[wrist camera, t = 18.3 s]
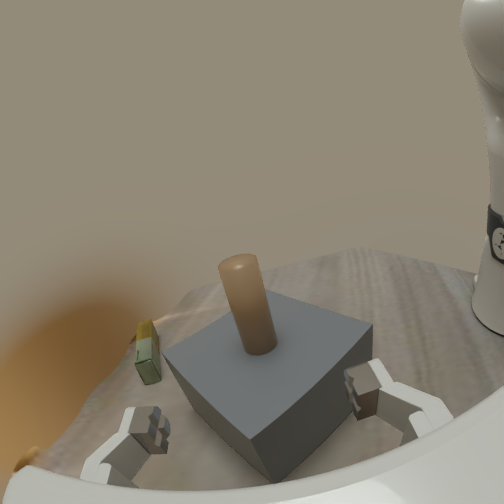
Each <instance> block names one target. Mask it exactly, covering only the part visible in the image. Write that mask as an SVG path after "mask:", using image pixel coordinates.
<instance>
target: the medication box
mask: <svg viewBox="0 0 504 504" xmlns="http://www.w3.org/2000/svg"><path fill="white" fill-rule="evenodd" d="M135 367H136V369H137V371H138V373H139V375H140V377H141V378H142V380H143V382H144V383H145V385H149V384H154V383H156V382H159V381H161V373H160V358H159V340H158V334H157V332H156V329H155V327H154V324H153V322H152V320H148V321H143V322H141V323H138V327H137V338H136V351H135Z"/></svg>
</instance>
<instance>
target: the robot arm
mask: <svg viewBox="0 0 504 504" xmlns="http://www.w3.org/2000/svg"><path fill="white" fill-rule="evenodd" d="M460 32H461V37H462V40H463V43H464V45H465V48H466V50H467V54H468V57H469V59H470V62H471V65H472V68H473V71H474V74H475V78H476V82H477V86H478V91H479V95H480V100H481V105H482V110H483V116H484V122H485V130H486V138H487V147H488V157H489V170H490V192H491V203H490V204H489V206H488V214H487V234H488V236H487V237H486V238H485V240H484V246H483V252H482V258H481V263H480V268H479V273H478V274H477V275H475V277H474V281H473V285H474V288H475V291H474V294H473V297H472V308H473V311H474V313H475V315H476V316H477V318H478V319H479V320H480V321H481V322H482V323H483V324H484V325H485V326H487V327H488V328H490V329H491V330H493V331H495V332H497V333H499V334H502V335H504V0H465V1H464V4H463V7H462V11H461V17H460ZM344 376H345V378H346V381H345V390H346V394H347V397H348V400H349V402H350V403H352V410H353V412H354V414H355V417H356V419H357V421H358V420H361V419H364V418H367V417H370V416H373V415H376V416H378V417H380V418H381V419H383V420H384V421H386V422H387V423H389V424H391V425H392V426H394V427H396V428H397V429H399V430H400V431H402V432H404V435H403V438H402V440H401V443H400V447H398V448H395V449H393V450H390V451H388V452H386V453H383V454H381V455H378V456H375V457H373V458H370V459H367V460H364V461H362V462H359V463H356V464H353V465H350V466H346V467H343V468H340V469H337V470H333V471H329V472H326V473H322V474H318V475H314V476H310V477H306V478H301V479H297V480H292V481H287V482H281V483H276V484H269V485H263V486H255V487H247V488H238V489H226V490H208V491H167V490H150V489H139V487H138V486H137V485H135V484H134V483H133V482H131V480H132V479H133V478H134V476H135V475H136V474H137V472H138V471H139V470H140V469H141V467H142V466H143V465H144V463H145V462H146V461H147V460H148V458H149V457H150V456H151V455H150V454H167V449H168V441H167V440H166V439H167V438H168V436H169V435H170V424H169V421H168V419H167V418H166V417H165V416H163V415H161V410H160V409H159V407H158V406H150V407H128V408H127V409H126V410H125V413H124V416H123V419H122V422H121V425H120V428H119V432H118V433H115V434H114V435H113V436H112V437H111V438H110V439H108V440H107V441H106V442H105V443H104V444H103V445H102V446H101V447H100V448H98V449H97V450H96V451H95V452H94V453H93V454H92V455H91V456H89V457H88V458H87V459H86V461H85V464H84V467H83V470H82V473H81V476H80V479H78V478H74V477H70V476H66V475H62V474H58V473H55V472H51V471H48V470H45V469H42V468H38V467H36V466H32V465H27V466H25V467H24V468H22V469H21V470H20V471H18V472H17V473H16V474H15V475H13V476H12V477H11V479H10V481H9V483H8V485H7V489H6V492H5V495H4V498H3V502H2V504H504V385H503V386H502V387H500V388H499V389H498V390H497V391H495V392H494V393H492V394H491V395H490V396H488V397H487V398H485V399H484V400H483V401H481V402H480V403H478V404H477V405H475V406H474V407H472V408H471V409H469V410H468V411H466V412H464V413H463V414H461V415H459V416H458V417H456V418H455V419H454V418H453V416H452V415H451V413H450V412H449V410H448V409H447V407H446V406H445V405H444V403H443V402H442V400H441V399H439V398H437V397H434V396H432V395H429V394H427V393H424V392H422V391H419V390H417V389H414V388H412V387H409V386H407V385H405V384H402V383H400V382H395V383H394V381H393V380H392V378H391V377H390V375H389V373H388V372H387V370H386V369H385V367H384V365H383V364H382V362H381V361H380V359H378V358H376V359H373V360H371V361H368V362H365V363H362V364H359V365H356V366H353V367H350V368H347V369H345V370H344Z"/></svg>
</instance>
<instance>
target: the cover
mask: <svg viewBox="0 0 504 504" xmlns="http://www.w3.org/2000/svg"><path fill="white" fill-rule="evenodd" d="M218 270H219V273H220V277H221V280H222V283H223V286H224V289H225V292H226V295H227V299H228V302H229V305H230V308H231V312H229V313H228V314H226V315H225V316H223V317H221V318H220V319H218V320H216V321H215V322H213V323H211V324H210V325H208V326H207V327H205V328H203V329H202V330H200V331H198V332H196V333H195V334H193V335H191V336H190V337H188V338H186V339H185V340H183V341H181V342H180V343H178V344H176V345H174V346H173V347H171V348H169V349H168V350H166V351H164V352H162V354H163V356H164V358H165V360H166V362H167V363H168V365H169V367H170V369H171V371H172V373H173V374H174V376H175V378H176V380H177V381H178V383H179V385H180V387H181V388H182V390H183V392H184V393H185V395H186V397H187V398H188V400H189V402H190V403H191V405H192V407H193V408H194V409H195V410H196V412H197V413H198V414H199V415H200V416H201V417H202V418H203V419H204V420H205V421H206V422H207V423H208V424H209V425H210V426H211V427H212V428H213V429H214V430H215V431H216V432H217V433H218V434H219V435H220V436H221V437H222V438H223V439H224V440H225V441H226V442H227V443H228V444H229V445H230V446H231V447H232V448H233V449H234V450H235V451H236V452H237V453H239V454H240V455H241V456H242V457H243V458H244V459H245V460H246V461H247V462H249V463H250V464H251V465H252V466H253V467H254V468H255V469H257V470H258V471H259V472H260V473H261V474H262V475H264V476H265V477H266V478H267V479H269V480H270V481H271V482H272V483H273V484H276V483H278V482H279V481H280V480H282V479H283V478H284V477H285V476H286V475H288V474H289V473H290V472H291V471H292V470H293V469H295V468H296V467H297V466H298V465H299V464H300V463H301V462H302V461H303V460H305V459H306V458H307V457H308V456H309V455H310V454H311V453H312V452H313V451H314V450H315V449H316V448H317V447H318V446H319V445H320V444H321V443H322V442H323V441H324V440H325V439H326V438H327V437H328V436H329V435H330V434H331V433H332V432H333V431H334V430H335V429H336V428H337V427H338V426H339V425H340V424H341V423H342V422H343V421H344V420H345V418H346V417H347V416H348V415H349V414H350V413H351V412H352V411H353V410H352V403H350V402H349V400H348V397H347V394H346V390H345V381H346V378H345V376H344V370H345V369H347V368H350V367H353V366H356V365H359V364H362V363H365V362H368V361H371V360H372V342H373V324H370V323H367V322H364V321H360V320H357V319H354V318H351V317H348V316H345V315H341V314H338V313H335V312H332V311H329V310H326V309H323V308H320V307H317V306H314V305H311V304H308V303H305V302H302V301H299V300H296V299H293V298H290V297H287V296H284V295H281V294H278V293H275V292H272V291H269V290H265V288H264V284H263V280H262V276H261V272H260V269H259V265H258V261H257V257H256V256H255V255H254V254H240V255H236V256H232V257H230V258H227V259H225V260H224V261H222V262H221V263H220V264H219V265H218Z"/></svg>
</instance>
